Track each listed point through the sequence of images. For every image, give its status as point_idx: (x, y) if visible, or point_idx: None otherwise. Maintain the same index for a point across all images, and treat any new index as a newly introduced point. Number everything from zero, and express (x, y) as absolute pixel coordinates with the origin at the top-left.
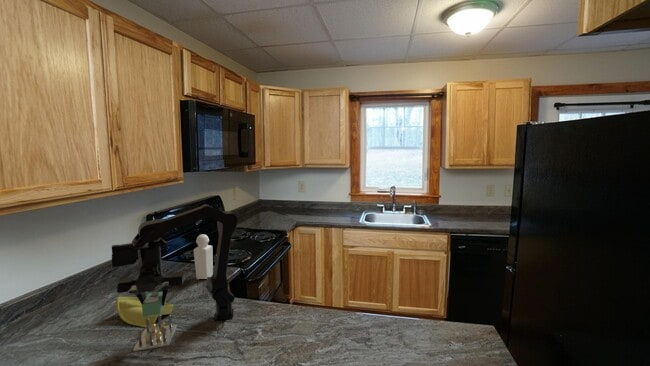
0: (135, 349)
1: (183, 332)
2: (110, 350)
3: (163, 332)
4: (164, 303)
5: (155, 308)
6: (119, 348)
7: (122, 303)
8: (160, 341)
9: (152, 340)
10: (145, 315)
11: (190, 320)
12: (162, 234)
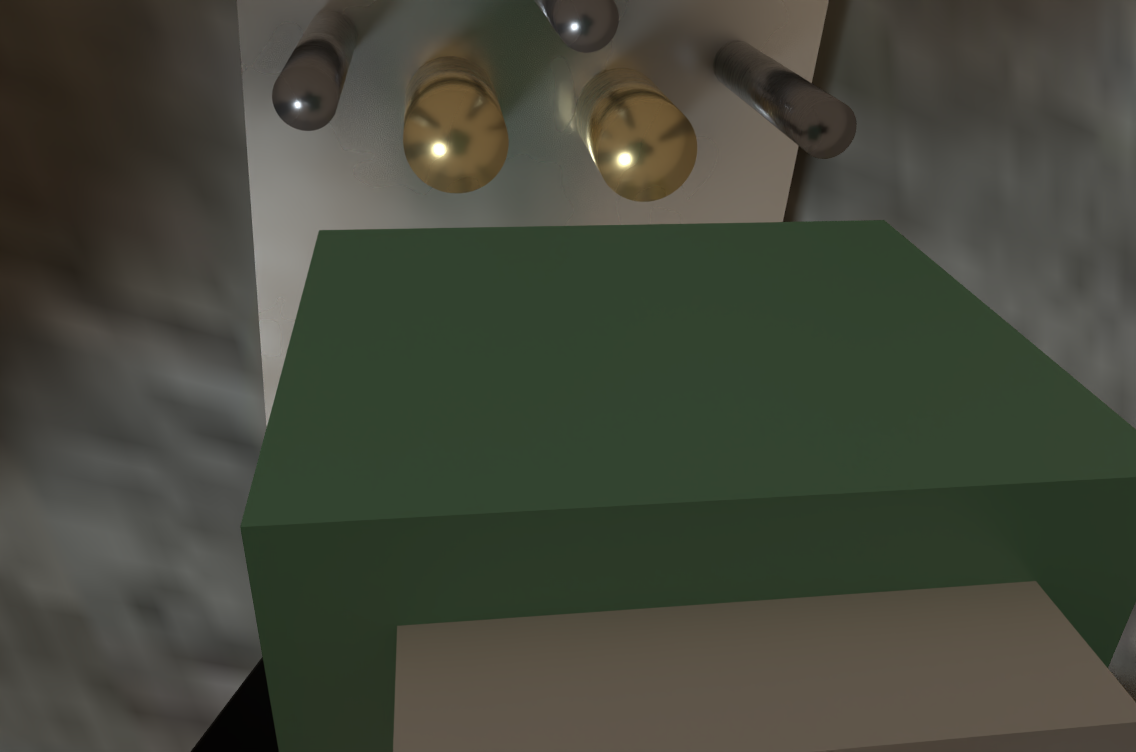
0: None
1: (92, 264)
2: (1120, 133)
3: (323, 49)
4: (265, 677)
5: (499, 342)
6: (1011, 141)
7: None
8: (409, 39)
9: None
10: (818, 234)
11: (93, 566)
12: None
